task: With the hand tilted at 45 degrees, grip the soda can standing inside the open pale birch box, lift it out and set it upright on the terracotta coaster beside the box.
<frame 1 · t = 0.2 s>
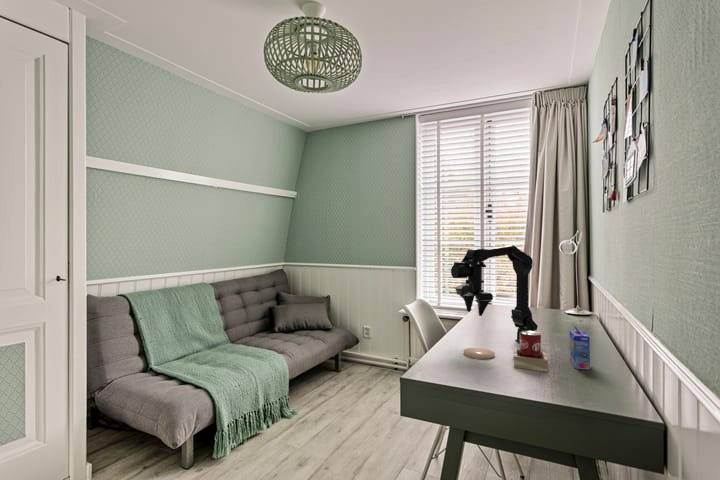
hand: (474, 313, 168), 14 cm above the table, tool pointing down, fingers open, 9 cm apart
birch box: (529, 364, 144), on the table
soda can: (529, 365, 144), resting in birch box
ink cartridge box: (579, 365, 145), on the table
coaster: (479, 354, 157), on the table
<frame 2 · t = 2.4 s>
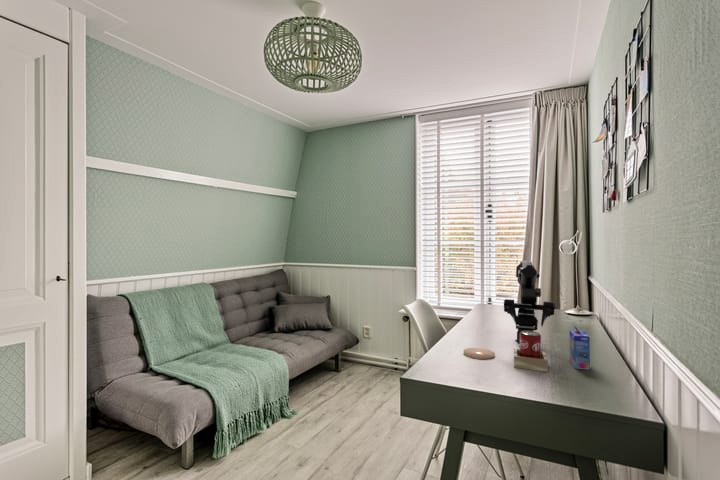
hand: (529, 324, 152), 13 cm above the table, tool tilted 45°, fingers open, 9 cm apart
nothing on the table moved.
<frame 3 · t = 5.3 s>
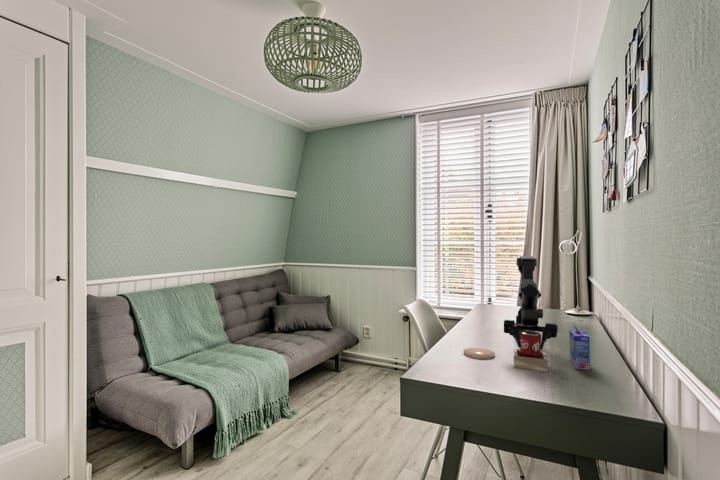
hand: (530, 348, 143), 7 cm above the table, tool tilted 45°, fingers closed on soda can, 7 cm apart
soda can: (529, 365, 144), resting in birch box, touching gripper
everything else where it was.
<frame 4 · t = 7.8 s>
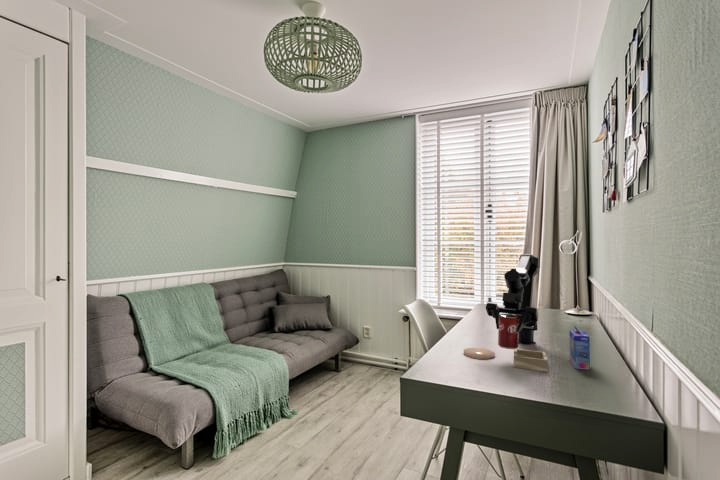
hand: (507, 330, 147), 12 cm above the table, tool tilted 45°, fingers closed on soda can, 7 cm apart
soda can: (508, 347, 148), point 5 cm above the table, touching gripper
everything else where it was.
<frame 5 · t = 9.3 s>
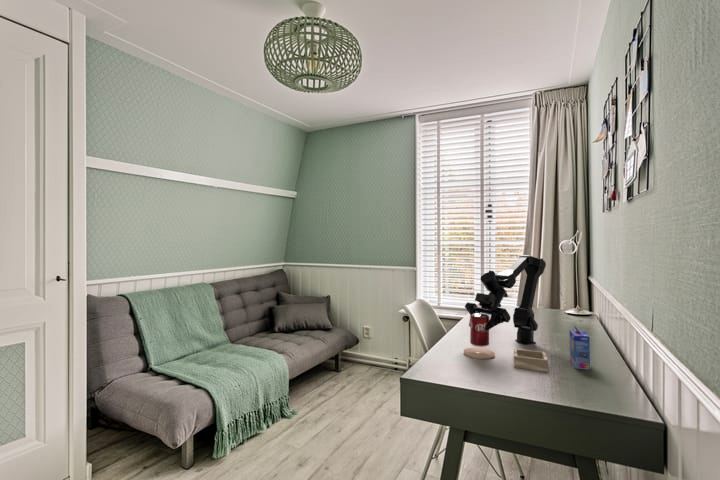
hand: (477, 328, 156), 11 cm above the table, tool tilted 45°, fingers closed on soda can, 7 cm apart
soda can: (479, 345, 157), point 4 cm above the table, touching gripper
everything else where it was.
when the fingers open (8 cm above the table, at t = 10.7 s): soda can stays where it is, resting on coaster.
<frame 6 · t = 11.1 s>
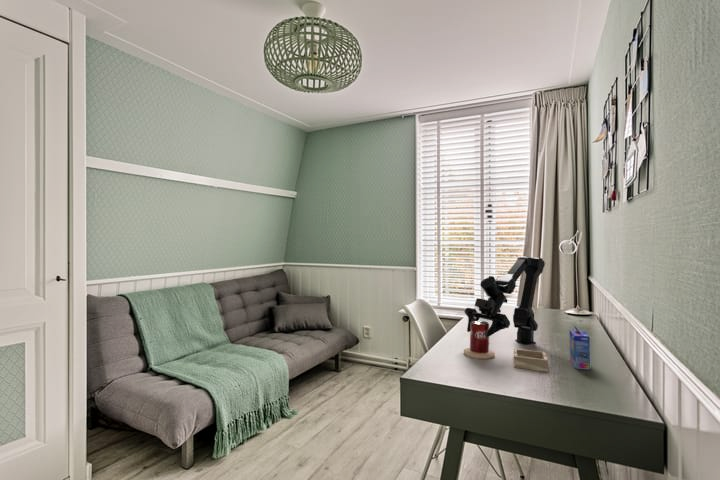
hand: (477, 333, 156), 9 cm above the table, tool tilted 45°, fingers open, 9 cm apart
soda can: (479, 352, 157), point 1 cm above the table, touching coaster
everything else where it was.
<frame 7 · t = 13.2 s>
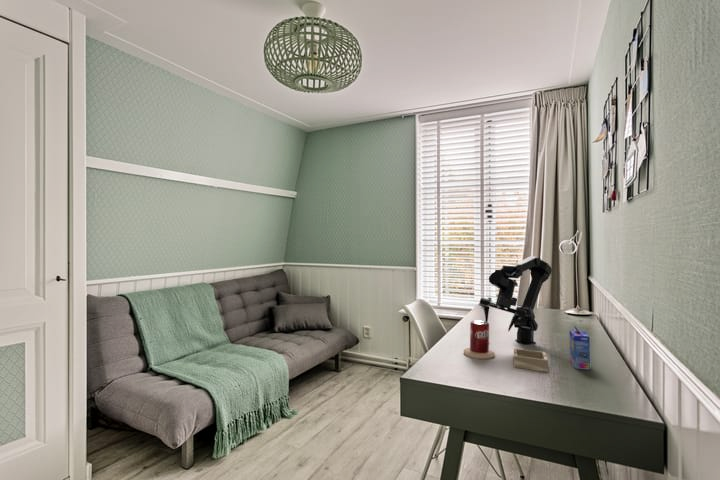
hand: (497, 327, 163), 10 cm above the table, tool tilted 25°, fingers open, 9 cm apart
nothing on the table moved.
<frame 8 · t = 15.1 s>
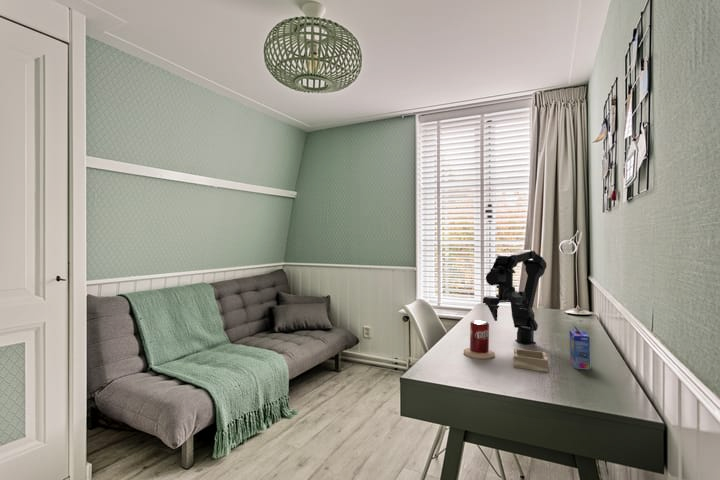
hand: (504, 320, 166), 12 cm above the table, tool pointing down, fingers open, 9 cm apart
nothing on the table moved.
at the end: soda can 0.1 cm from the coaster (horizontally); soda can tilted 0°; the gripper is holding nothing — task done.
